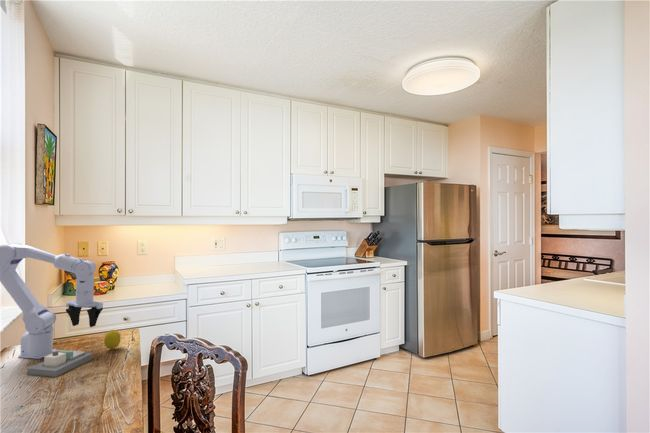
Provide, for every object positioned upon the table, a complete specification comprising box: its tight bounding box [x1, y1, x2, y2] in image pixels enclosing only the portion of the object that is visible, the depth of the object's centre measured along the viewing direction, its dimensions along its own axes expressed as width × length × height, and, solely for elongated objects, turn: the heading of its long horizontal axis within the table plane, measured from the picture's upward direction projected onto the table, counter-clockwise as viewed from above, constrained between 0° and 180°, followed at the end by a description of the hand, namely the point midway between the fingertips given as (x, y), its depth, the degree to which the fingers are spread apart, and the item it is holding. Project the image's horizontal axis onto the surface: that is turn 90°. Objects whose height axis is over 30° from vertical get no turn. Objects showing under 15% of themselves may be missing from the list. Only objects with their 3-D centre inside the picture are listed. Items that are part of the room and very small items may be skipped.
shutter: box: [58, 349, 87, 360], centre depth 125 cm, size 6×6×3 cm
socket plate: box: [26, 352, 94, 378], centre depth 121 cm, size 11×15×2 cm
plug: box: [43, 351, 66, 367], centre depth 119 cm, size 4×4×6 cm
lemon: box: [103, 329, 121, 351], centre depth 137 cm, size 6×6×8 cm
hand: (84, 325), depth 135 cm, fingers open, 7 cm apart
